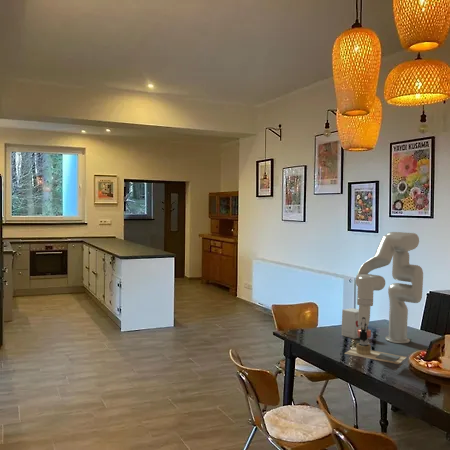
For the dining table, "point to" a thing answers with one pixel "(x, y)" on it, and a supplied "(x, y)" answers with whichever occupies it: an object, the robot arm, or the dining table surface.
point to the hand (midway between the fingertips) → (364, 337)
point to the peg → (364, 342)
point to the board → (375, 354)
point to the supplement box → (350, 323)
